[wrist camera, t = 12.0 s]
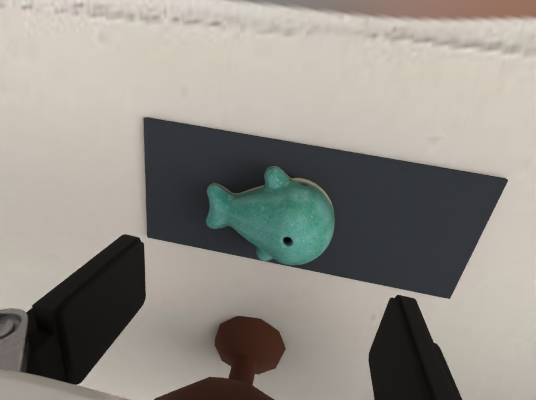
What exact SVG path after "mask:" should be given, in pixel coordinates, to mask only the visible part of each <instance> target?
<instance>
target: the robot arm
mask: <svg viewBox="0 0 536 400" xmlns="http://www.w3.org/2000/svg"><path fill="white" fill-rule="evenodd" d="M145 297H146V292H145V259H144V243H143V242H141V240H140V238H138V237H134V236H130V235H122V236H121V237H119V238H118V239H117V240H115V241H114V242H113V243H112V244H110V245H109V246H108V247H106V248H105V249H104V250H103V251H101V252H100V253H99V254H97V255H96V256H95V257H94V258H92V259H91V260H90V261H88V262H87V263H86V264H85V265H83V266H82V267H81V268H79V269H78V270H77V271H76V272H74V273H73V274H72V275H70V276H69V277H68V278H67V279H65V280H64V281H63V282H61V283H60V284H59V285H58V286H56V287H55V288H54V289H52V290H51V291H50V292H49V293H47V294H46V295H45V296H44V297H42V298H41V299H40V300H38V301H37V302H36V303H35V304H33V305H32V307H33V308H32V309H30V310H29V311H28V312H27V313H26V312H25V311H23V310H20V309H11V308H10V309H2V310H0V400H129V399H125V398H122V397H118V396H114V395H111V394H107V393H104V392H100V391H96V390H93V389H89V388H85V387H82V386H78V385H77V384H79V383H81V382H82V381H83V380H84V378H85V377H86V376H87V375H88V373H89V372H90V371H91V370H92V368H93V367H94V366H95V365H96V363H97V362H98V361H99V360H100V358H101V357H102V356H103V355H104V353H105V352H106V351H107V350H108V348H109V347H110V346H111V345H112V343H113V342H114V341H115V340H116V338H117V337H118V336H119V335H120V333H121V332H122V331H123V330H124V328H125V327H126V326H127V325H128V323H129V322H130V321H131V319H132V318H133V317H134V316H135V314H136V313H137V312H138V311H139V309H140V308H141V307H142V306H143V304H144V301H145ZM369 366H370V373H371V379H372V385H373V392H374V398H375V400H462V398H461V396H460V393H459V391H458V389H457V386H456V384H455V382H454V379H453V377H452V375H451V372H450V370H449V368H448V365H447V363H446V361H445V358H444V356H443V354H442V351H441V349H440V347H439V346H438V345H437V344H436V343H434V342H433V340H432V338H431V335H430V333H429V330H428V328H427V325H426V323H425V321H424V318H423V316H422V313H421V311H420V309H419V306H418V304H417V301H416V300H415V299H414V298H410V297H405V296H401V295H397V296H396V297H395V298H390V300H389V302H388V305H387V307H386V310H385V312H384V315H383V318H382V320H381V323H380V325H379V328H378V331H377V333H376V336H375V339H374V341H373V344H372V346H371V349H370V352H369ZM75 384H76V385H75Z"/></svg>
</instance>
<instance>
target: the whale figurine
mask: <svg viewBox="0 0 536 400" xmlns="http://www.w3.org/2000/svg"><path fill="white" fill-rule="evenodd" d="M264 179H265V185H263V186H259V187H256V188H253V189H250V190H247V191H244V192H241V193H232V192H230V191H229V190H227V189H226V188H225V187H223V186H221V185H219V184H216V183H213V184H210V185H209V186H208V188H207V195H208V198H209V203H210V209H209V213H208V216H207V218H206V224H207V226H208V227H210V228H212V229H218V228H223V227H226V226H231V227H232V228H234V229H235V230H236V231H237V232H238V233H239V234H241V235H242V236H243V237H244V238H245V239H247V240H248V241H249V242H251V243H252V244H254V245H255V246H256V247H257V249H256V254H257V257H258V258H259V259H260V260H262V261H269V260H271V259H275V260H277V261H279V262H281V263H283V264H286V265H300V264H305V263H308V262H310V261H312V260H314V259H315V258H317V257H318V256H319V255H321V254H322V253H323V252H324V250H325V249H326V248H327V247H328V245H329V243H330V241H331V239H332V236H333V232H334V225H335V217H334V210H333V206H332V203H331V201H330V199H329V197H328V195H327V194H326V193H325V192H324V191H323V189H321V188H320V187H319V186H318V185H317V184H315V183H313V182H311V181H309V180H307V179H303V178H290V177H289V176H288V175H287V174H286V173H285V172H284V171H283V170H281V169H280V168H279V167H277V166H271V167H269V168H267V170H266V171H265V173H264Z"/></svg>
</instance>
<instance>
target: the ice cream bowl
mask: <svg viewBox="0 0 536 400" xmlns="http://www.w3.org/2000/svg"><path fill="white" fill-rule="evenodd" d="M215 347H216V349H217V351H218V353H219V355H220V357H221V360H222V361H223V362H225V363H226V364H228V365H230V366H231V371H230V375H229V379H226V378H217V377H208V378H206V379H203V380H201V381H198V382H196V383H193V384H190V385H188V386H185V387H183V388H180V389H178V390H175V391H173V392H170V393H168V394H165V395H163V396H160V397H158V398H155V399H154V400H274V399H272V398H271V397H269V396H268V395H266V394H265V393H263V392H262V391H260V390H259V389H257V388H255V387H254V386H252V384H253V380H254V376H255V374H261V373H264V372H266V371H269V370H272V369H275V368H276V366H277V364H278V362H279V360H280V359H281V357H282V355H283V353H284V351H285V346H284V343H283V341H282V338H281V335H280V333H279V331H277V330H276V329H275V328H273V327H272V326H270V325H269V324H267V323H266V322H264V321H263V320H262V319H257V318H249V317H240V316H237V317H235V318H233V319H231V320H229V321H226V322H224V323H222V324H220V327H219V329H218V332H217V335H216V337H215Z"/></svg>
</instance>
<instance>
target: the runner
mask: <svg viewBox="0 0 536 400" xmlns="http://www.w3.org/2000/svg"><path fill="white" fill-rule="evenodd" d="M144 144H145V177H146V211H147V237H148V238H153V239H158V240H163V241H168V242H173V243H178V244H183V245H188V246H193V247H198V248H202V249H207V250H212V251H217V252H222V253H227V254H232V255H237V256H242V257H247V258H252V259H256V260H260V259H259V258H258V257H257V254H256V249H257V247H256V246H255V245H254V244H252V243H251V242H249V241H248V240H247V239H245V238H244V237H243V236H242V235H241V234H239V233H238V232H237V231H236V230H235V229H234V228H232V227H231V226H226V227H223V228H218V229H212V228H210V227H208V226H207V224H206V218H207V216H208V213H209V209H210V203H209V198H208V195H207V188H208V186H209V185H210V184H213V183H216V184H219V185H221V186H223V187H225V188H226V189H227V190H229V191H230V192H232V193H241V192H244V191H247V190H250V189H253V188H256V187H259V186H263V185H265V179H264V173H265V171H266V170H267V168H269V167H271V166H277V167H279V168H280V169H281V170H283V171H284V172H285V173H286V174H287V175H288V176H289V177H290V178H303V179H307V180H309V181H311V182H313V183H315V184H317V185H318V186H319V187H320V188H321V189H323V191H324V192H325V193H326V194H327V195H328V197H329V199H330V201H331V203H332V206H333V210H334V217H335V225H334V232H333V236H332V239H331V241H330V243H329V245H328V247H327V248H326V249H325V250H324V252H323V253H322V254H321V255H319V256H318V257H317V258H315V259H314V260H312V261H310V262H308V263H305V264H300V265H286V264H283V263H281V262H279V261H277V260H275V259H271V260H269V261H266V262H271V263H276V264H281V265H286V266H291V267H296V268H301V269H306V270H310V271H315V272H320V273H325V274H330V275H335V276H340V277H345V278H350V279H355V280H359V281H364V282H369V283H374V284H379V285H384V286H389V287H394V288H399V289H404V290H409V291H413V292H418V293H423V294H428V295H433V296H438V297H443V298H448V299H450V297H451V295H452V293H453V291H454V289H455V287H456V285H457V283H458V281H459V279H460V277H461V275H462V273H463V271H464V269H465V267H466V265H467V263H468V261H469V259H470V257H471V255H472V253H473V251H474V249H475V247H476V245H477V242H478V240H479V238H480V236H481V234H482V232H483V230H484V228H485V226H486V224H487V222H488V220H489V218H490V216H491V214H492V212H493V210H494V208H495V206H496V204H497V202H498V200H499V198H500V196H501V194H502V192H503V190H504V188H505V186H506V183H507V181H508V180H507V179H505V178H500V177H494V176H489V175H483V174H477V173H471V172H465V171H459V170H453V169H447V168H442V167H436V166H430V165H424V164H418V163H412V162H406V161H400V160H395V159H389V158H383V157H377V156H371V155H365V154H359V153H353V152H347V151H342V150H336V149H330V148H324V147H318V146H312V145H306V144H300V143H295V142H289V141H283V140H277V139H271V138H265V137H259V136H253V135H247V134H242V133H236V132H230V131H224V130H218V129H212V128H206V127H200V126H195V125H189V124H183V123H177V122H171V121H165V120H159V119H153V118H147V117H146V118H144ZM261 261H262V260H261Z"/></svg>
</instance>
